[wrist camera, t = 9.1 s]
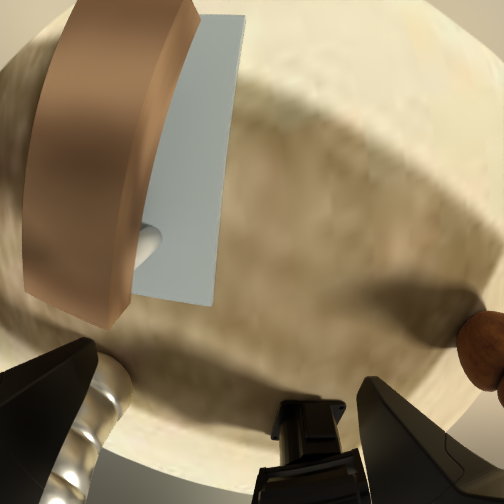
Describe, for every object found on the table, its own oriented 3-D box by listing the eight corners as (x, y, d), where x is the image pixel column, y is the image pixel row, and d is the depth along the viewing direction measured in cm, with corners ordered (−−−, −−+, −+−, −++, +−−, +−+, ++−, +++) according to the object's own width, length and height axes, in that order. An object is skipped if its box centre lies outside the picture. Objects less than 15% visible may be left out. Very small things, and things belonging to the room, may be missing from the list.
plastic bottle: (131, 349, 23) (31, 544, 4) (145, 399, 25) (81, 566, 6) (75, 337, 23) (-36, 490, 4) (92, 386, 25) (15, 528, 6)
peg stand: (213, 300, 21) (200, 339, 16) (75, 275, 21) (41, 302, 16) (245, 21, 14) (240, -15, 10) (91, 33, 14) (56, 14, 10)
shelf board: (130, 303, 16) (108, 330, 13) (52, 272, 15) (24, 291, 12) (201, 19, 11) (187, -8, 8) (104, 17, 10) (78, -2, 7)
